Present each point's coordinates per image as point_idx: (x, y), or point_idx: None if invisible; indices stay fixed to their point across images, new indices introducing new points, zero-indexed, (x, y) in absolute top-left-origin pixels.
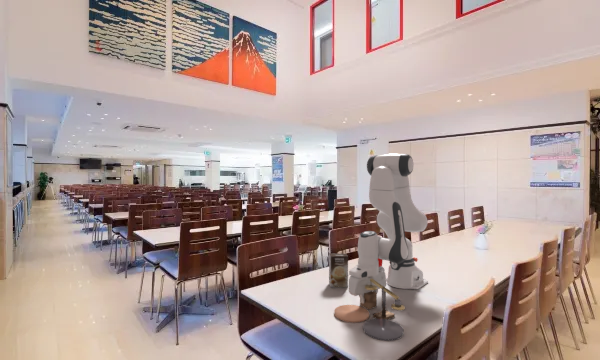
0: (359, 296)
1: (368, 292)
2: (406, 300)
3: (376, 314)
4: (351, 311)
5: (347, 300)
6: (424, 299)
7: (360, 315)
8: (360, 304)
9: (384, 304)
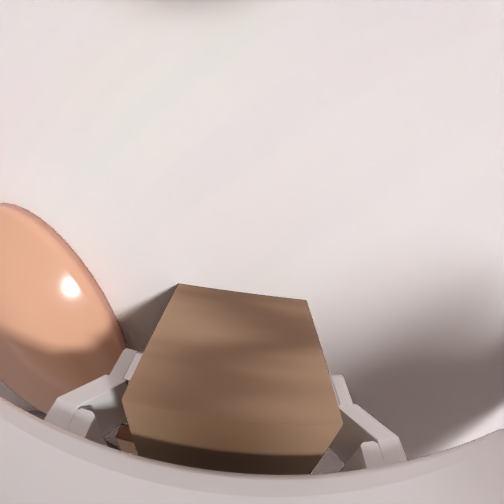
0: (78, 393)
1: (222, 469)
2: (474, 403)
3: (130, 448)
4: (14, 333)
5: (184, 85)
6: (496, 418)
7: (41, 394)
8: (174, 297)
9: None
